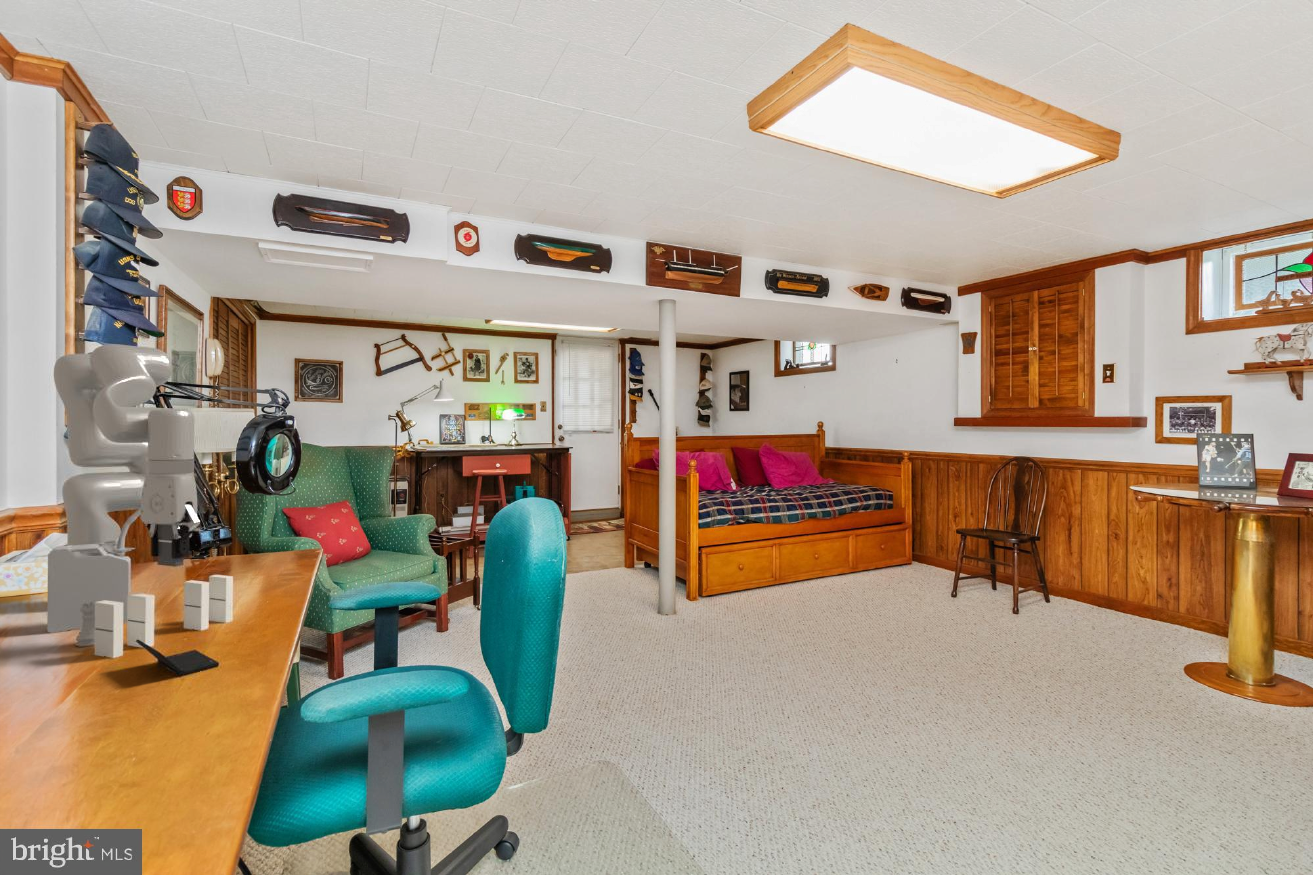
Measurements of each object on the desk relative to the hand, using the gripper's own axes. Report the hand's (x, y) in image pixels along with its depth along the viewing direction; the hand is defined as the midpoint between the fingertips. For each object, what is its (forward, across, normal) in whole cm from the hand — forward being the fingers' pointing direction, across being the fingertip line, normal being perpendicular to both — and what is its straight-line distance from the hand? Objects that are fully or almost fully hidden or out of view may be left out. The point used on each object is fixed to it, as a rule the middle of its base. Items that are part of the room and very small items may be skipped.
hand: (170, 555), depth 126 cm
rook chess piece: (+17, -10, -8) cm, 21 cm away
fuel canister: (+17, -22, +1) cm, 28 cm away
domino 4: (+17, 0, +6) cm, 18 cm away
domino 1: (+17, 0, -11) cm, 20 cm away
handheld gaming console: (+17, +18, -11) cm, 27 cm away
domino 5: (+17, 0, +11) cm, 20 cm away
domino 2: (+17, 0, -6) cm, 18 cm away
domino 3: (+2, 0, 0) cm, 2 cm away
